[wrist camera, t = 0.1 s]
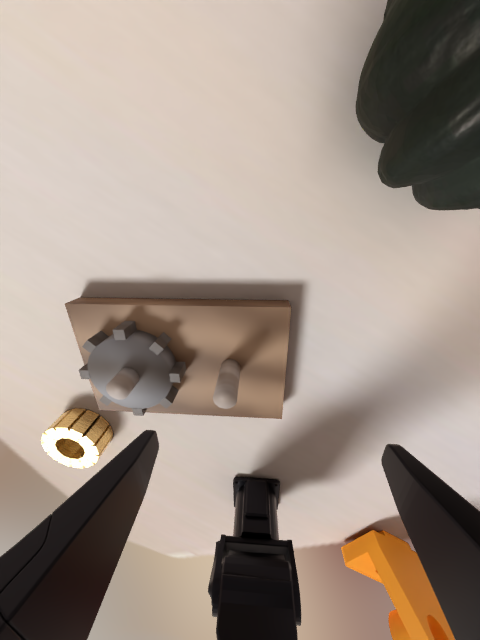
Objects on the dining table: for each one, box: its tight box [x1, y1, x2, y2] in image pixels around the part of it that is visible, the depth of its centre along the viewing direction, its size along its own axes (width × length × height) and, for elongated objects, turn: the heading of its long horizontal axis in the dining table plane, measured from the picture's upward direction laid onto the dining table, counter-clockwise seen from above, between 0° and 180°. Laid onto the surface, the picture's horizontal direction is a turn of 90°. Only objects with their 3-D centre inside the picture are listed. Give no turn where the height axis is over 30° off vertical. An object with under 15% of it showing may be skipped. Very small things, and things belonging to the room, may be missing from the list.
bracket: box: [341, 530, 455, 640], centre depth 31 cm, size 11×7×12 cm, turn 56°
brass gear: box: [41, 408, 113, 468], centre depth 29 cm, size 7×7×3 cm
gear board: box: [65, 298, 291, 419], centre depth 22 cm, size 13×21×6 cm, turn 90°
